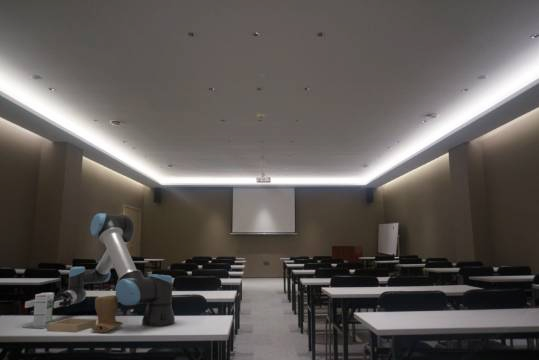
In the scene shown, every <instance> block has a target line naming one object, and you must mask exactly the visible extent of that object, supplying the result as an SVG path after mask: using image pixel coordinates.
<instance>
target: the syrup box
mask: <svg viewBox="0 0 539 360" xmlns="http://www.w3.org/2000/svg"><path fill="white" fill-rule="evenodd" d="M54 296H55V292H41V293H37V294H35V297H34V299H35V306H34V307H33V319H32V321H33V322H32V325H33V326H46V325H48V323H52V322H53V313H54V311H53V310H54V304H53V300H54Z"/></svg>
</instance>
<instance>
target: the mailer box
mask: <svg viewBox="0 0 539 360" xmlns="http://www.w3.org/2000/svg"><path fill="white" fill-rule="evenodd" d="M97 324H98V318H97V319H96V318H74V317H73V318H69V317H68V318H65V319H61V320H57V321H52V323H48V325H47V328H46V331H47V332H65V333H78V332H81V331H85V330H88V329H92V328H93V327H94V326H96V325H97Z"/></svg>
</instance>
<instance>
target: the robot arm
mask: <svg viewBox="0 0 539 360" xmlns="http://www.w3.org/2000/svg"><path fill="white" fill-rule="evenodd" d="M90 223H91V224H90V229H89V230H90V233H91V235H92V236H94V237H98V240H99V241H100V243H102V244H104V246H105V248H106V250H105V252H104V253H103V255H102V257H101V258H100V260H99V261H98V264H97V265H96V266H95V268H94V269H86V267H85V266H72V267H70V269H69V275H68V286H67V287H68V289H67V290H65V291H60V292H58V293H57V294H56V295H54V300H53V309H57V308H64V307H69V306H71V305H73V304H78V303H81V302H82V301H84V300H85V299H86V297H87V292H86V290H85V289H84V287H85V284H86V285H88V284H99V283H101V284H102V283H106V282H108V281H109V280H110V279H111V275H112V273H111V269H112V267H114V270H115V272H116V274H117V277H118V279H117V283H116V285H115V289H114V290H115V295H116V297H117V299H118V303H120V304H121V305H123V306H135V305H140V304H146V308H145V312H144V314H143V317H142V322H141V324H142V325H141V326H145V327H164V326H171V325H173V324H175V321H176V318H175V314H174V310H173V308H172V302H173V301H172V299H173V286H174V285H173V284H174V283H173V277H172V276H171V275H167V274H166V275H165V274H155V273H154V274H153V273H149V274H148V276H146V277H145V276H144V274H143V272H142V271H141V270H139V269H137V267H136V265H135V263H134V260H133V258H132V256H131V254H130V252H129V250H128V247H127V244H128V243H129V242H131V241H132V239H133V238H134V235H135V232H136V226H135V223H134V221H133V219H132V218H131V217H130V216H128V215H126V214H117V213H116V214H115V213H105V212H104V213H97V214H96V215H94V217H93V218H92V219H91V222H90ZM34 307H35V298H33V299H29V300H28V301H25V302H24V308H25V309H27V308H34Z"/></svg>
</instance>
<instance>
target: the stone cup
mask: <svg viewBox="0 0 539 360" xmlns="http://www.w3.org/2000/svg"><path fill="white" fill-rule="evenodd" d="M118 306H119V301H118V299H117V297H116V294H112V295H105V296H99V297H95V300H94V309H95V312H96V315H97V319H98V324H97V325H96V326H94V327H91V330H92V331H93V332H96V333H99V334H100V333H103V334H104V333H107V332H109V331H112V330H115V329H117V328H118V327H119V328H120V326H122V325H123V324H124V323H123V322H121V321H117V319H116V316H117V312H118Z"/></svg>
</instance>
